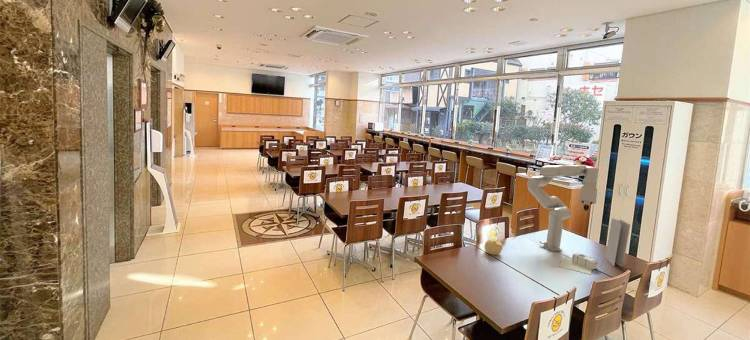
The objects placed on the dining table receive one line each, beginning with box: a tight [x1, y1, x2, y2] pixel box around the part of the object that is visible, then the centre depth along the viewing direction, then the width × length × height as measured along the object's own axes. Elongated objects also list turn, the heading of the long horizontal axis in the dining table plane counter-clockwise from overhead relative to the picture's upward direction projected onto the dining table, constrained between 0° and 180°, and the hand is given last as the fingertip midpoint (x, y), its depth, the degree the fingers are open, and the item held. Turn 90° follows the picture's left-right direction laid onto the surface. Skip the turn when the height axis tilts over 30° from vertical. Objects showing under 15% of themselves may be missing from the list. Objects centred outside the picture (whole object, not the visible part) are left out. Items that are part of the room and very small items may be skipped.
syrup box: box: [571, 252, 599, 270], centre depth 242 cm, size 6×6×14 cm
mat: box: [559, 257, 592, 275], centre depth 241 cm, size 18×20×1 cm
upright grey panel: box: [604, 217, 631, 268], centre depth 248 cm, size 14×6×30 cm, turn 168°
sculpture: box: [484, 238, 503, 256], centre depth 254 cm, size 11×12×11 cm
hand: (585, 210), depth 250 cm, fingers closed
